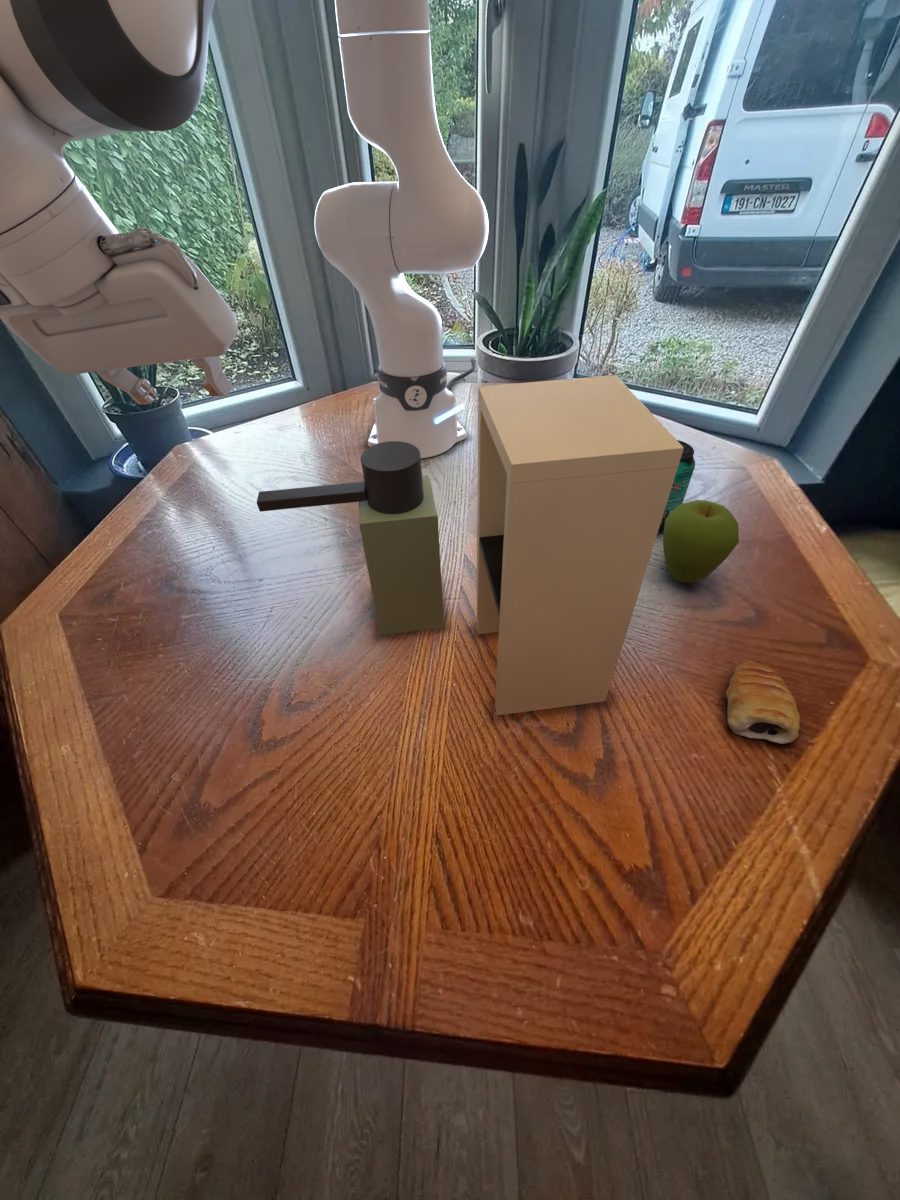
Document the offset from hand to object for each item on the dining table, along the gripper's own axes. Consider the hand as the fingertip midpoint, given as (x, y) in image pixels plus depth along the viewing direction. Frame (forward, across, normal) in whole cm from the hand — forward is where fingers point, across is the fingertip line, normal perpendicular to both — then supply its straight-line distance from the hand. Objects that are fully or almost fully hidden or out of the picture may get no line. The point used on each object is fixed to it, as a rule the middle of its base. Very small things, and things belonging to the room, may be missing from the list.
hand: (185, 396), depth 51 cm
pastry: (+35, -55, +13) cm, 66 cm away
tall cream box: (+31, -32, +12) cm, 46 cm away
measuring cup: (+12, -13, +3) cm, 18 cm away
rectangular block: (+30, -15, +7) cm, 34 cm away
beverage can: (+43, -44, -18) cm, 64 cm away
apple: (+40, -48, -6) cm, 63 cm away
